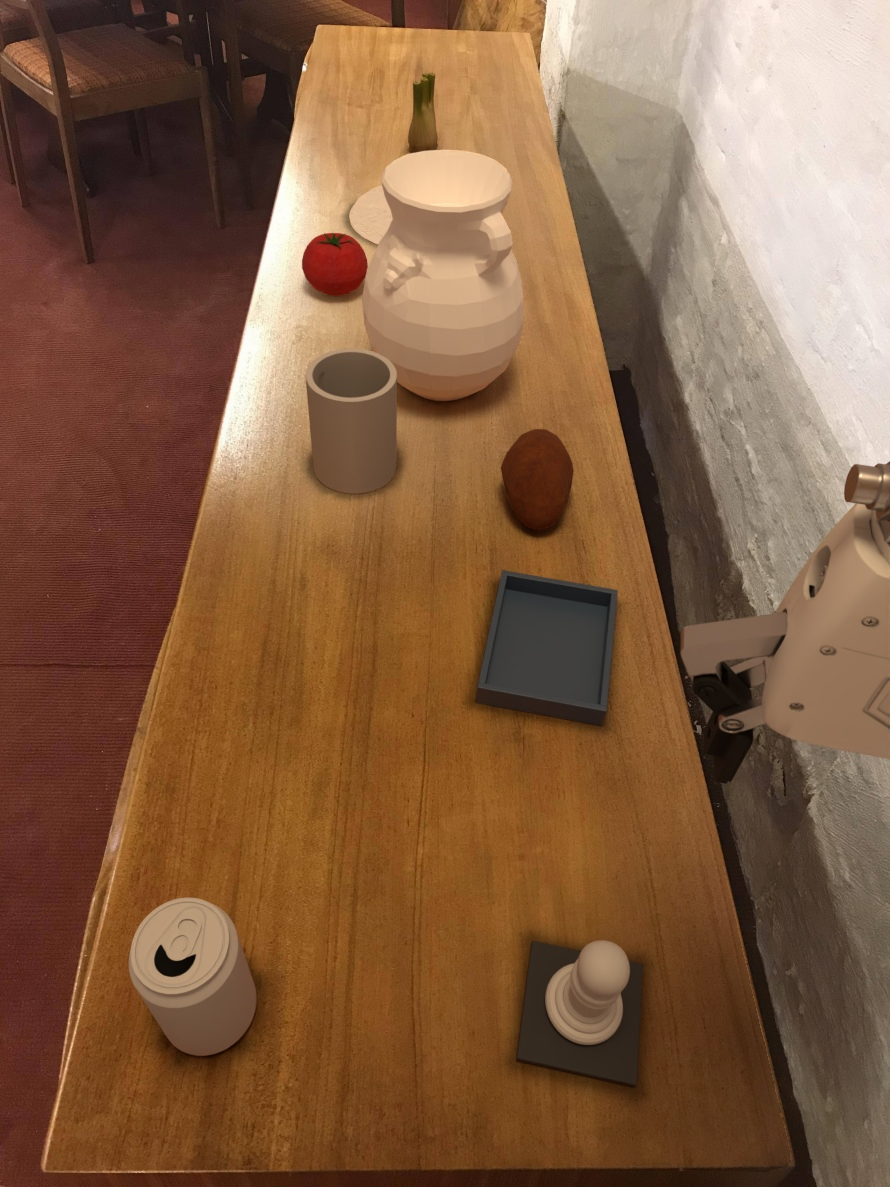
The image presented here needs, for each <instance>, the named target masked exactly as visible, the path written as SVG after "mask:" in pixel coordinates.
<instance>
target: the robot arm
mask: <svg viewBox="0 0 890 1187" xmlns="http://www.w3.org/2000/svg"><path fill="white" fill-rule="evenodd" d="M843 498H844V500H845V503H850V504H853V506H852V507H851V508H850V509H849V510H848V511H847V512H846V513H845V514H844V515H843V516H842V517H841V518H840V519H839V521H837V523H836V524H835V525H834V526H833V527H832V528H831V530H830V531H829V532H828V533H827V535H826V536H825V537H823V539H822V541H821V542H820V543H819V544H818V546H817V547H816V548H815V550H814V551H813V552H812V553H811V555H810V556H809V558H808V559H807V561H806V562H805V563H804V565H803V567H802V568H801V569H800V571H799V572H798V574H797V575H796V577H795V579H794V580H793V582H792V583H791V585H790V586H789V588H788V589H787V591H786V592H785V594H784V596H783V598H782V600H781V601H780V604H779V605H778V606H777V608H776V609H775V612H774V613H768V614H761V615H754V616H747V617H739V618H733V619H725V620H717V621H712V622H711V621H710V622H703V623H696V624H690V625H686V626H684V627H682V628H681V630H680V647H679V648H680V649H679V654H680V658H681V661H682V663H683V665H684V668H685V670H686V673H687V675H688V677H689V678H690V680H691V683H692V691H693V693H694V695H695V696H697V697H698V698H699V699H700V700H701V701H702V702H703V703H704V704H705V706H707V707H708V708H709V709H710V710H711V712H712V713H711V715H710V716H709V719H708V720H707V723H706V724H705V729H704V733H703V754H704V755H707V756H712V757H713V779H714V782H715V783H719V784H724V785H727V784H728V782H730V783H731V782H732V781H733V779H734V778H735V776H736V774H737V772H738V770H739V769H740V767H741V765H742V763H743V761H745V760H744V759H745V758H746V757H747V754H748V752H749V751H750V749H751V748H752V746H753V742H754V729H755V728H758V727H761V726H763V725H766V726H768V727H769V728H770V729H771V730H773V731H774V732H776V733H777V734H780V735H781V736H783V737H786V738H788V739H791V740H794V741H797V742H800V743H801V742H802V743H805V744H809V745H814V746H819V747H823V748H827V749H828V748H829V749H833V750H837V751H838V750H839V751H844V752H850V753H855V754H860V755H865V756H871V757H877V758H883V759H887V760H890V460H889V461H888V462H887V463H879V462H877V464H875V465H874V466H871V465H866V464H860V463H854V464H853V465H852V466H851V467H850V469H849V471H848V473H847V476H846V478H845V483H844V489H843ZM745 659H747V660H746V661H742V662H741V663H740V662H739V663H738V664H735V665H733V666H730V665H728V664H727V662H729V661H730V662H731V661H738V660H745ZM763 684H764V685H763ZM760 685H763V689H762V695H760V696H757V697H754V698H753V691H752V688H755V687H758V686H760Z"/></svg>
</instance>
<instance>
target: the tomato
mask: <svg viewBox="0 0 890 1187" xmlns="http://www.w3.org/2000/svg"><path fill="white" fill-rule="evenodd" d="M368 264H369V263H368V258H367V255H366V252H365V250H364V248H363V247H362V245H361V244H360V243H359V242H358V241H357V239H355V238H354V237H353V236H351V235H349V234H347V233H342V232H327V233H325V232H323V233H322V234H320V235H317V236H315V237H313V239H312V240H311V241H310V242H309V243H308V244H307V245H306V247H305V249H304V251H303V253H302V257H301V269H302V273H303V275H304V277H305V278H304V279H305V280H306V281H307V282H308V283H309V285H310V286H311V287H312V289H314V290H315V291H318V292H320V293H321V294H323V295H326V296H330V297H341V296H345V295H349V294H351V293H352V292H355V291H356V290H357V289H359V287H360V286H361V285H362V284H363V282H364V281H365V276H366V274H367V271H368V268H369V265H368Z"/></svg>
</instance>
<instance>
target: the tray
mask: <svg viewBox="0 0 890 1187" xmlns="http://www.w3.org/2000/svg"><path fill="white" fill-rule="evenodd" d="M496 592H497V593H496V597H495V602H494V607H493V612H492V615H491V620H490V626H489V630H488V635H487V640H486V644H485V649H484V653H483V659H482V662H481V667H480V672H479V676H478V681H477V687H476V694H475V703H476V704H483V705H488V706H493V707H498V708H505V709H509V710H514V711H521V712H525V713H529V714H530V713H531V714H536V715H541V716H546V717H547V716H548V717H552V718H557V719H562V720H568V721H574V722H578V723H584V724H589V725H594V726H599V727H603V724H604V721H605V718H606V715H607V712H608V703H609V690H610V680H611V669H612V660H613V648H614V637H615V625H616V616H617V615H616V614H617V605H618V595H619V594H618V593H619V590H618V589H614V588H608V587H603V586H596V585H592V584H591V585H590V584H585V583H580V582H573V581H569V580H562V579H556V578H550V577H545V576H539V575H533V574H527V573H522V572H516V571H509V570H504V569H502V570H501V574H500V578H499V583H498V588H497V591H496Z"/></svg>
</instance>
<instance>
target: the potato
mask: <svg viewBox="0 0 890 1187" xmlns="http://www.w3.org/2000/svg"><path fill="white" fill-rule="evenodd" d="M500 471H501V477H502V482H503V483H502V484H503V486H504V491H505V495H506V497H507V500H508V502H509V505H510V508H511V510H512V512H513V513H514V514H515V516H516V517H517V518H518V520H519V521H520V522H521V523H522V524H523V525H525V526H526V527H527V528H528V529H532V530H535V531H537V530H546V529H547V528H550V527H552V526H553V525H555V524H556V523H558V521H559V519H560V518H561V517H562V515H563V513H564V511H565V509H566V507H567V504H568V501H569V500H568V499H569V497H570V496H569V495H570V493H571V489H572V486H573V485H572V484H573V479H574V478H573V477H574V464H573V460H572V457H571V455H570V454H569V452H568V450H567V448H566V446H565V445H564V443H563V441H562V440H561V438H560V437H559V436H558V435H557V434H556V433H554V432H552V431H550V430H548V429H544V428H533V429H531V430H529V431H528V430H527V431H525V432H524V433H522V434H521V435H519V437H518V438H517V439H515V442H514V443H513V444H512V445H511V447H510V448H509V449H508V451H507V452H506V453H505V456H504V458H503V460H502V463H501V467H500Z"/></svg>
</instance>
